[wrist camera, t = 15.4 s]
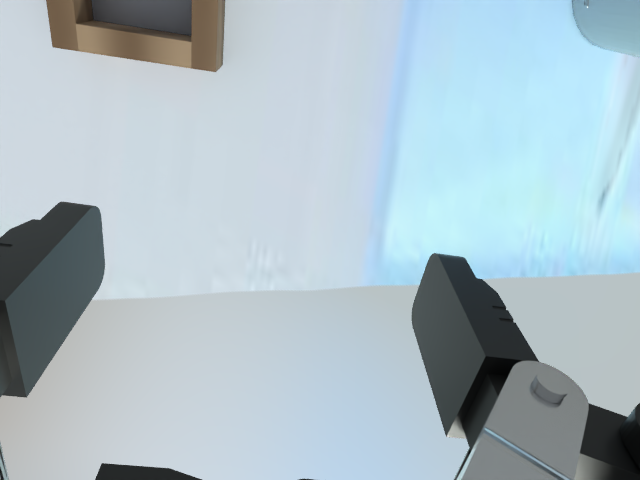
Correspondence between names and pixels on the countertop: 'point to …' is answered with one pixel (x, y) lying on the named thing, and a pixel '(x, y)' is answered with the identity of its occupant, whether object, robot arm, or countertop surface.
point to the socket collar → (141, 35)
